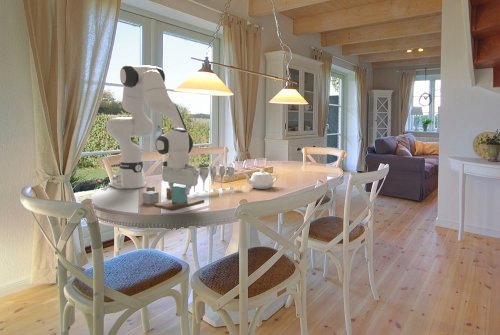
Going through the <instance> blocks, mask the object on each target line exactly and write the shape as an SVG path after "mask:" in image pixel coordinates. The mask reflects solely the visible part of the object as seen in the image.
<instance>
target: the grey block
mask: <svg viewBox="0 0 500 335" xmlns="http://www.w3.org/2000/svg"><path fill="white" fill-rule="evenodd" d="M159 195H160V194H159V192H158V191H156V190H155V191H148V192H147V191H145V192H144V191H143V192H142V203H143V204H147V205H150V204H151V205H154V204H155V203H160V199H159V197H160V196H159Z"/></svg>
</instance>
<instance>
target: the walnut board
mask: <svg viewBox="0 0 500 335" xmlns="http://www.w3.org/2000/svg"><path fill="white" fill-rule="evenodd" d="M198 203H199V204H203V203H205V199H201V198H197V197H192V196H189V195H187V202H184V203H180V204H179V203H174V202H172V199H168V200H164V201H161V202H160V201H159V203H155V204H153V206H154V207H156V206H157V208H160V207H161V209H164V208H165V210H168V211H176V210H181V209H183V207H184V208H187V207H191V206H194V204H195V205H199V204H198ZM190 205H191V206H190Z"/></svg>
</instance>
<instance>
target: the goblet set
mask: <svg viewBox="0 0 500 335" xmlns="http://www.w3.org/2000/svg"><path fill="white" fill-rule="evenodd" d="M196 172H197V179H198V180H199V177H200V179H201V181H202V183H203V190H200V191H199V192H198V191H196V190H195V189H196V186H193V191H192V192H190V194H191V195H198V194H200V193H201V194H206V193H209V192H217V190H218V191H225V190H234V189H235V188H234V187H226V188H223V178H224V176H226V177H227V178H228V180H229V183H232V182H231V181H232V179H233V177H234V176H235V175H236V168H235V167H234V166H233V167H232V166H228V167H227V166H226V167H225V166H222V165H220V166H218V175H219V178H220V183H221V184H220V185H221V187H220V188H219V189H217V190H216V189H210V190H209V191H208V190H205V182H206V180H207V178H208V177H209V175H210V179H211V182H212V184H214V181H215V178H216V175H217V166H210V167H199V169H198V170H196Z"/></svg>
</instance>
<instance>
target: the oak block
mask: <svg viewBox="0 0 500 335" xmlns="http://www.w3.org/2000/svg"><path fill="white" fill-rule="evenodd" d="M165 191H166V199H170V200H172V192H171V191H170V187H169V186H168V187H166V190H165Z"/></svg>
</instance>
